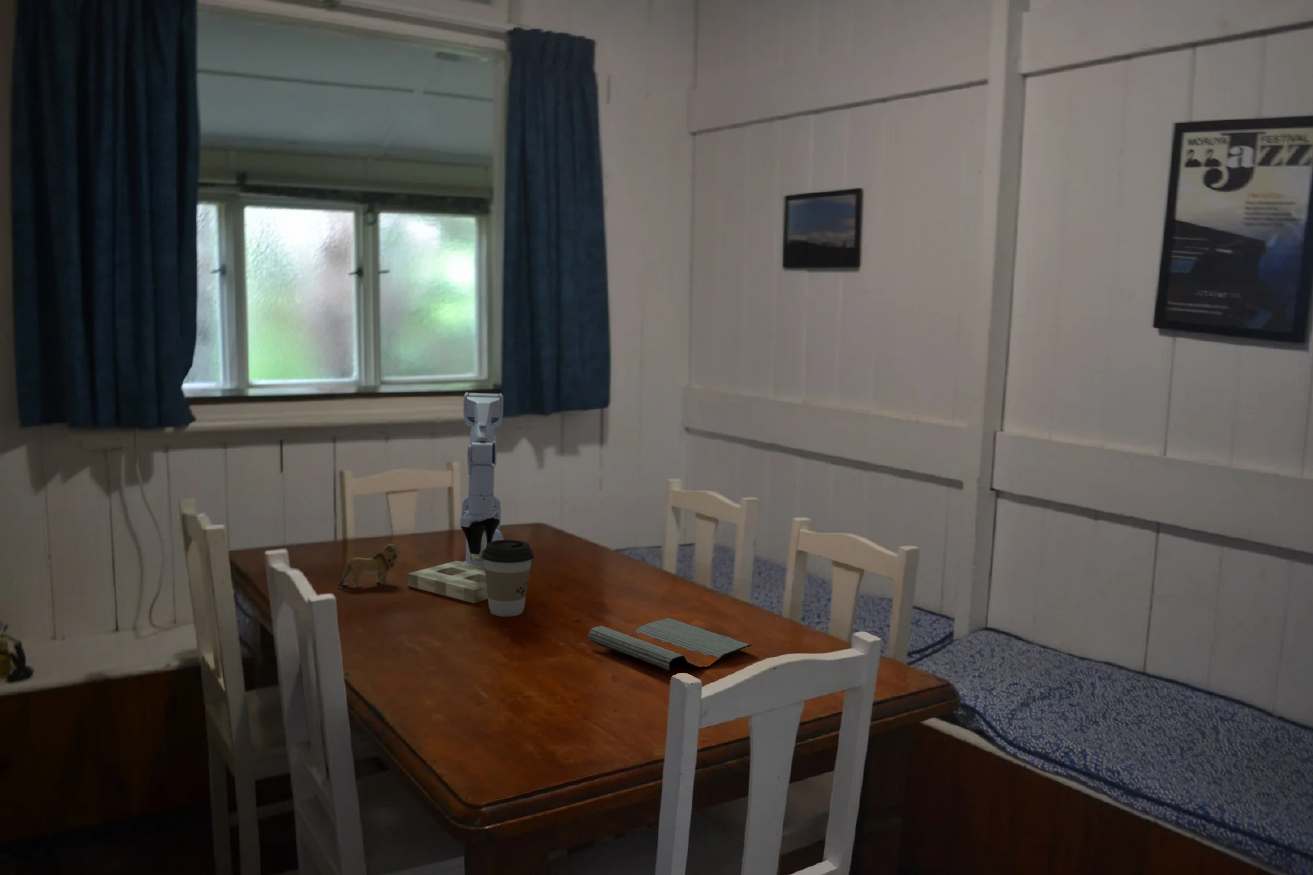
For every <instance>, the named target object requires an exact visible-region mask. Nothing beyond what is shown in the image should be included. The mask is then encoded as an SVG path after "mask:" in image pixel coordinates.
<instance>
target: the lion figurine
mask: <svg viewBox="0 0 1313 875" xmlns="http://www.w3.org/2000/svg"><path fill="white" fill-rule="evenodd" d="M399 556H400V552H399V547H398V545H395V544H394V543H393V544H392V543H388V544H387V545H385V546H383V547H382V550H380V551H379V552H378V553H377V554H376V555H375V556H373V557H368V558H367V557H366V558H365V557H359V556H358V557H353V558H349V560H348V561H347V562H346V563H345V566H344V568H343V571H342V578H341V581H340V582H339V584H338V585H337V587H342V586H348V585H349V582H348V581H346V580H347V579H348V578H349V577H350V576H352V575H353V579H352V582H353V583H354V585H355V586H356V587H357V588H358V589H359V588H363V584H362V583H359V578H360V574H361V572H363V573H366V574H376V582H377V583H382V585H383V586H384V585H385V586H388V585H389V582H388V581H387V575H388V572H389V571H392V570H393V569H394V568H395V566H396V564H397V563H398V560H399Z"/></svg>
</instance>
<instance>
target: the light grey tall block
mask: <svg viewBox="0 0 1313 875" xmlns="http://www.w3.org/2000/svg"><path fill="white" fill-rule="evenodd" d="M486 545H487V530H486V529H485V530H484V533H483V536H482V541H481V549H480V553H479V554H478V555H477V554H470V561H471V562H484V559H483V558H482V557H481V556H482V551H483V550H484V549H486Z"/></svg>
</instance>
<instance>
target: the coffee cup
mask: <svg viewBox="0 0 1313 875" xmlns="http://www.w3.org/2000/svg"><path fill="white" fill-rule="evenodd" d="M481 557H482V558H483V559H484V565H485V574H486V584H487V593H488V599H487V601H488V608H489V612H490V614H491V615H493V616H496V617H497V616H498V617H503V618H504V617H505V618H507V617H509V618H510V617H516V616H517V617H518V616H520V615H522V614H523V613H524V609H525V604H526V598H527V592H528V584H529V579H530V573H531V572H530V571H531V566H532V560H533V559H534V558H535V555H534V551H533V549H531V546H530V543H528V542H527V541H523V540H519V539H518V540H517V539H504V540H496V541H492V542H489V543H488V544H487V545H486V549H484V550H483V551H482V556H481Z"/></svg>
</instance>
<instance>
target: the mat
mask: <svg viewBox="0 0 1313 875" xmlns="http://www.w3.org/2000/svg"><path fill="white" fill-rule="evenodd" d="M634 631H635V632H637V633H643V634H644V635H645V634H646V635H647V636H650V638H658V639H660V640H661V641H662V642H671V643H672V644H673V645H675V646H682V647H683V648H686V649H687V650H690V651H699V652H701V653H703V654H704V655H713V656H715V657H717V658H720V657H722V658H723V657H725V656H727V655H730V654H734V653H733V652H735V653H736V652H738V651H741V650H744V649H746V647H749V646H752V647H753V645H752V644H750V643H747V642H744V641H740V640H737V639H734V638H732V637H729V636H726V635H723V634H720V633H716V632H713V631H709V630H707V629H704V628H701V627H699V626H695V625H691V624H688V623H686V622H684V621H680V620H676V619H673V618H671V617H668V618H663V619H659V620H656V621H651V622H649V623H646V624H643V625H641V626H639V627H638V628H637V629H635V630H634ZM587 637H588V638H589V640H590V642H592V643H593V644H595V645H596V644H597V645H598V646H601V647H604V648H606V649H609V650H612V651H614V652H617V653H621V654H623V655H626V656H629V657H631V658H634V659H638V660H639V661H642V662H644V663H647V664H649V665H653V666H655V667H658V668H661V669H662V670H664V671H665V674H666V673H667V674H668V672H669V671H671V663H672V661H675V660H676V659H678V660H680V661H681V662H683V663H686V664H688V665H691V666H693V665H694V666H693V667H696V666H695V664H693V663H690V662H688V661H687V660H686V657H685V656H683V655H681V654H678V653H675V652H673V651H670V650H667V649H664V648H662V647H659V646H656V645H653V644H651V643H648V642H645V641H643V640H640V639H637V638H634V637H631V636H629V634H626V633H622V632H620V631H616V630H614V629H612V628H609V627H606V626H603V625H597V626H595V627H592V628H590V630H589V632H588V635H587ZM724 655H725V656H724Z"/></svg>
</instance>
